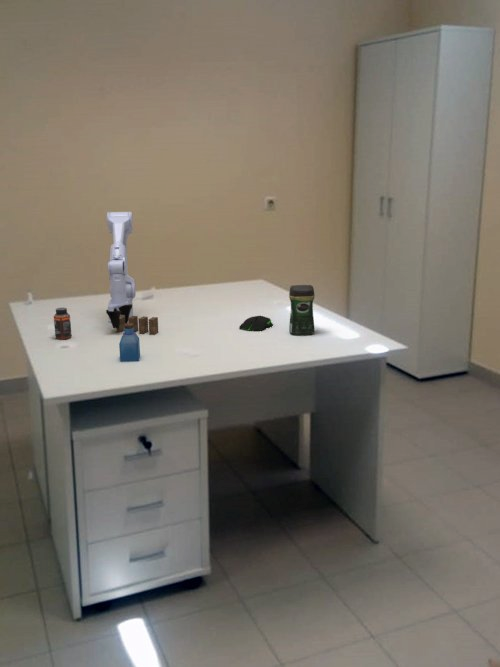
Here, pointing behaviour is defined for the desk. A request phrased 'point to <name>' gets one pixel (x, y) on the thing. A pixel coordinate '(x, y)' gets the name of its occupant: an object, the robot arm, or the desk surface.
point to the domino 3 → (153, 325)
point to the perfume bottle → (129, 344)
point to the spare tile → (121, 324)
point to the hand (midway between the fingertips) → (120, 325)
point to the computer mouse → (256, 324)
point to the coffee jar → (301, 310)
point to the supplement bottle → (62, 324)
